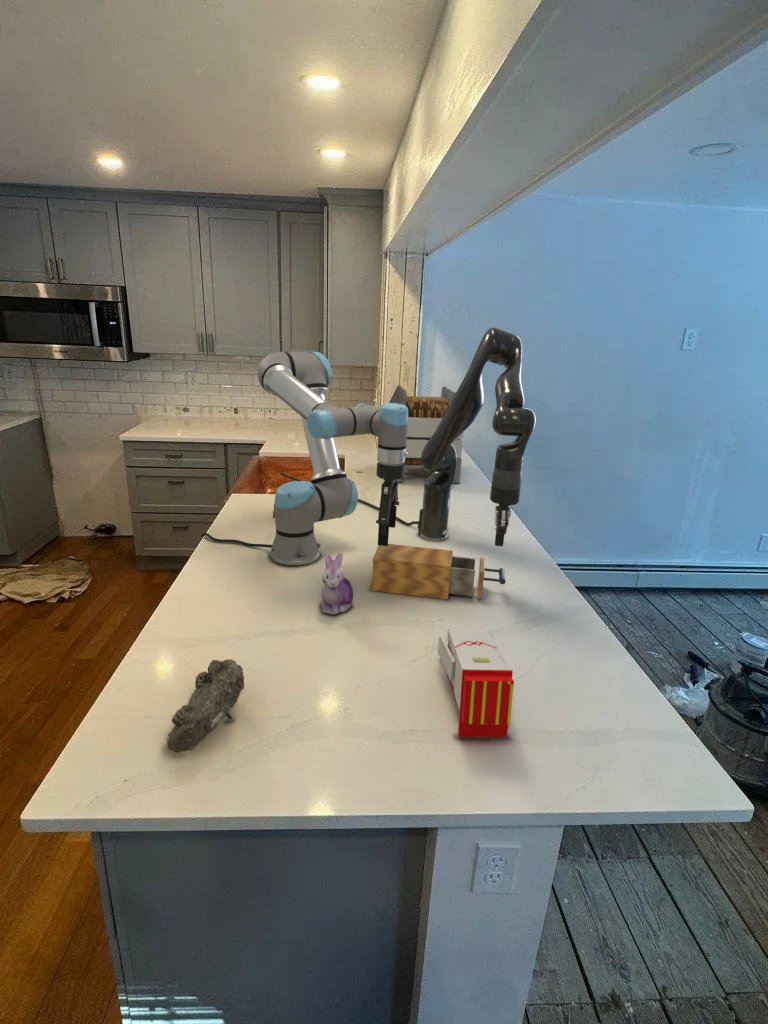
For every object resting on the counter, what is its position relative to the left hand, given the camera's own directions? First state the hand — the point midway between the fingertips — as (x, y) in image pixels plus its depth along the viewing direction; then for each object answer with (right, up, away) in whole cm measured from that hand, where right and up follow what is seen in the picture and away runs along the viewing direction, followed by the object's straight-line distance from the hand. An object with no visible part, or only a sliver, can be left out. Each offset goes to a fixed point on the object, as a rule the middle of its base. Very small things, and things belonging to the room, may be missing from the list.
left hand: (386, 535), depth 159 cm
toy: (+17, -31, -40) cm, 54 cm away
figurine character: (-38, +4, +50) cm, 63 cm away
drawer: (+20, -15, +2) cm, 25 cm away
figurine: (-13, -18, -9) cm, 25 cm away
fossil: (-34, -32, -51) cm, 69 cm away
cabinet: (+7, -15, +4) cm, 17 cm away
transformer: (+16, +25, +116) cm, 120 cm away
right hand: (+30, -2, -5) cm, 31 cm away
